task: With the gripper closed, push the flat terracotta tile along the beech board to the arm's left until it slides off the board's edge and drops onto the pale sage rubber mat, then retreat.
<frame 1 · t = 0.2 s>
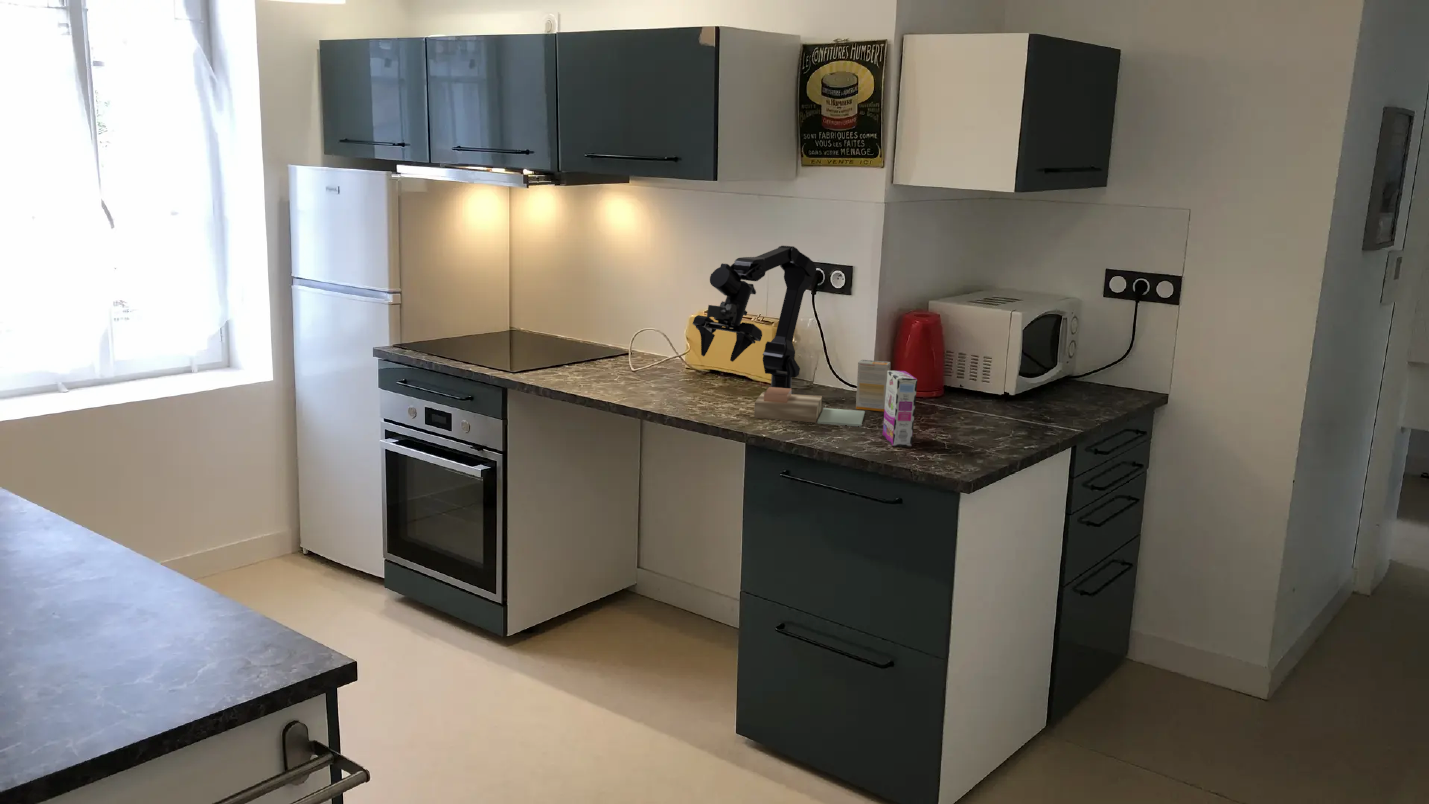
hand: (716, 358, 288), 14 cm above the counter, tool tilted 30°, fingers open, 9 cm apart
tile: (777, 398, 292), point 4 cm above the counter, touching board
candy bar box: (897, 441, 268), on the counter
supplement box: (871, 409, 302), on the counter
mat: (841, 418, 290), on the counter
board: (788, 414, 292), on the counter
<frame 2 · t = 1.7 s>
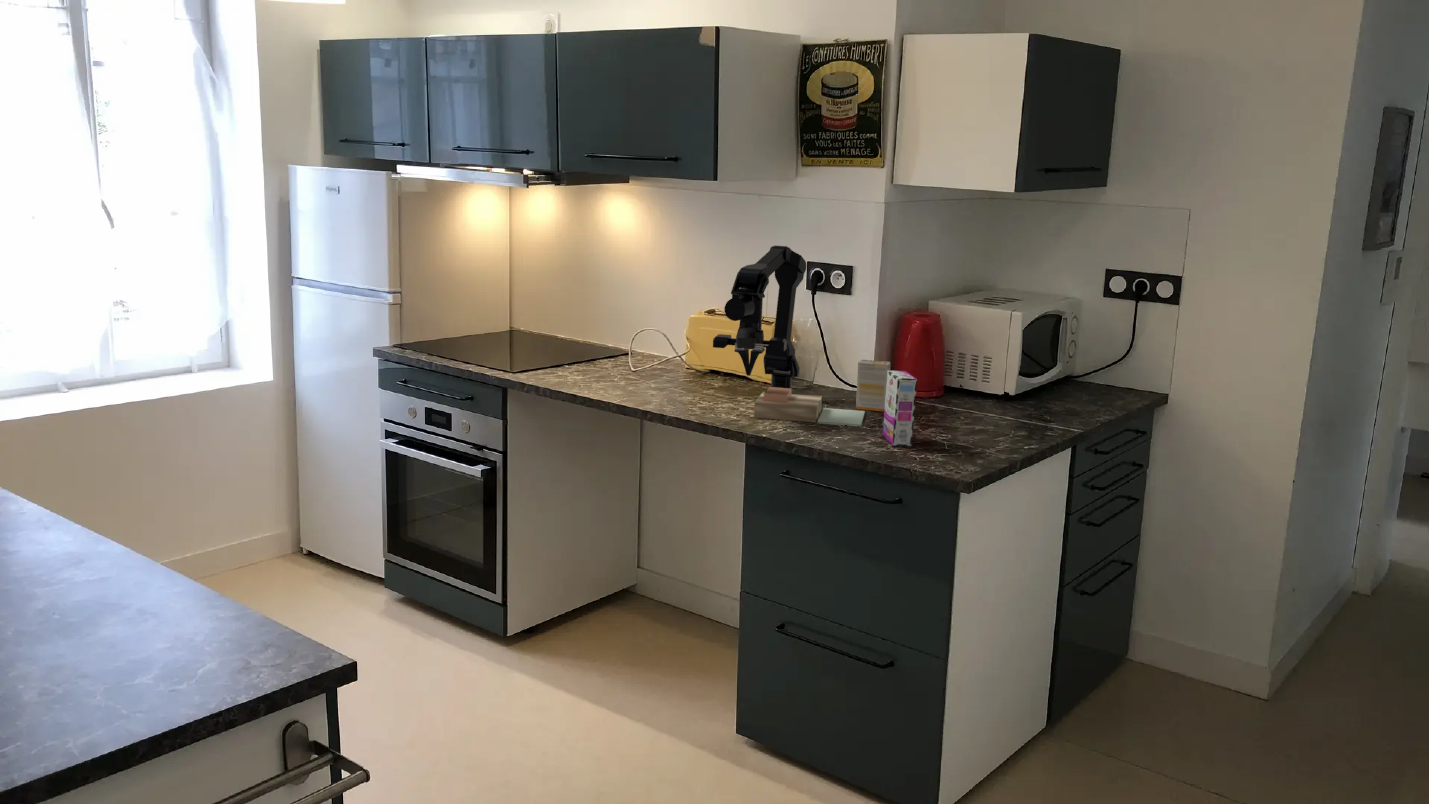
hand: (748, 375, 292), 10 cm above the counter, tool pointing down, fingers closed
nothing on the counter moved.
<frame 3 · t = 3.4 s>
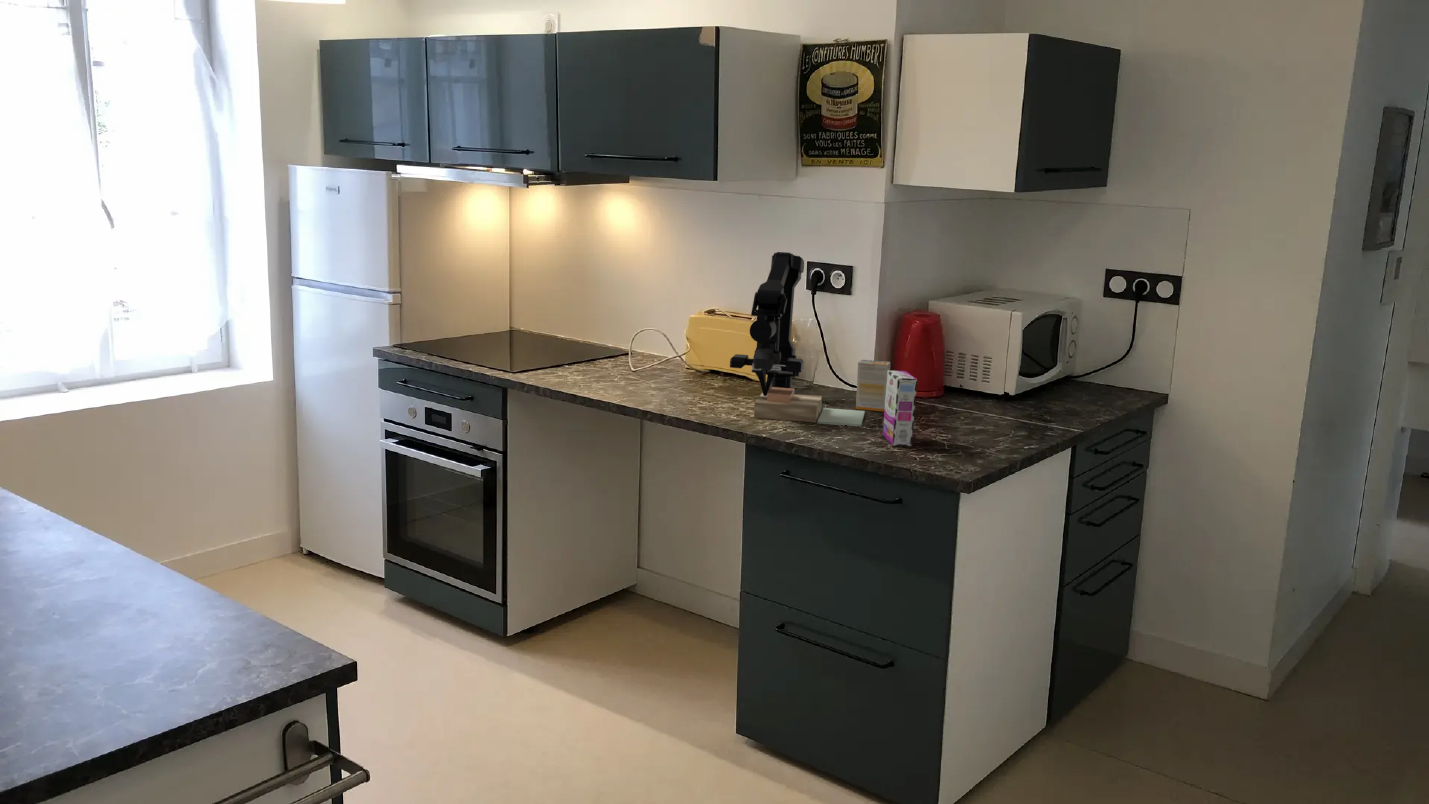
hand: (765, 395, 292), 5 cm above the counter, tool pointing down, fingers closed
tile: (780, 398, 292), point 4 cm above the counter, touching gripper
everything else where it was.
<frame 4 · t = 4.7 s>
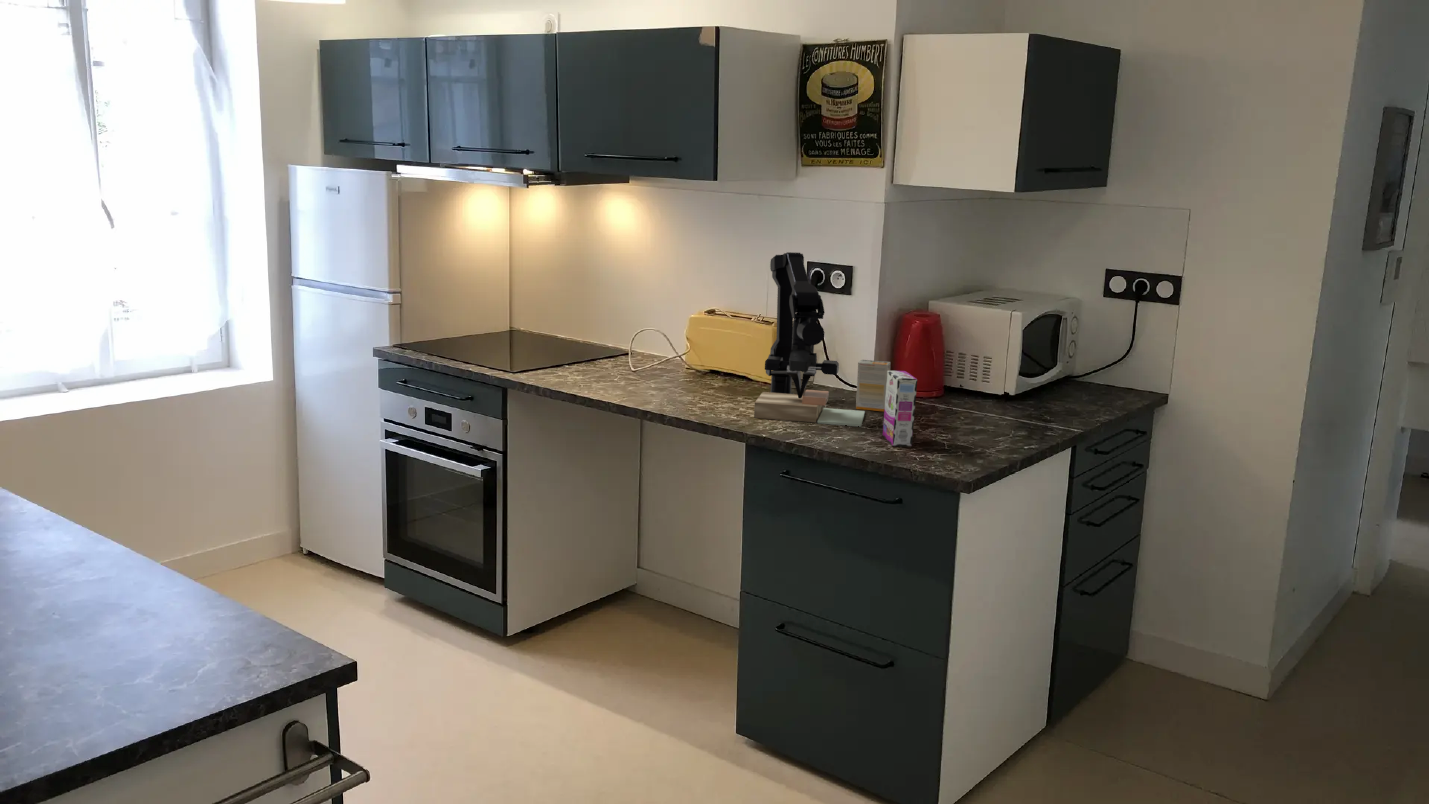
hand: (800, 397, 291), 5 cm above the counter, tool pointing down, fingers closed
tile: (815, 401, 290), point 4 cm above the counter, touching board, gripper
everything else where it was.
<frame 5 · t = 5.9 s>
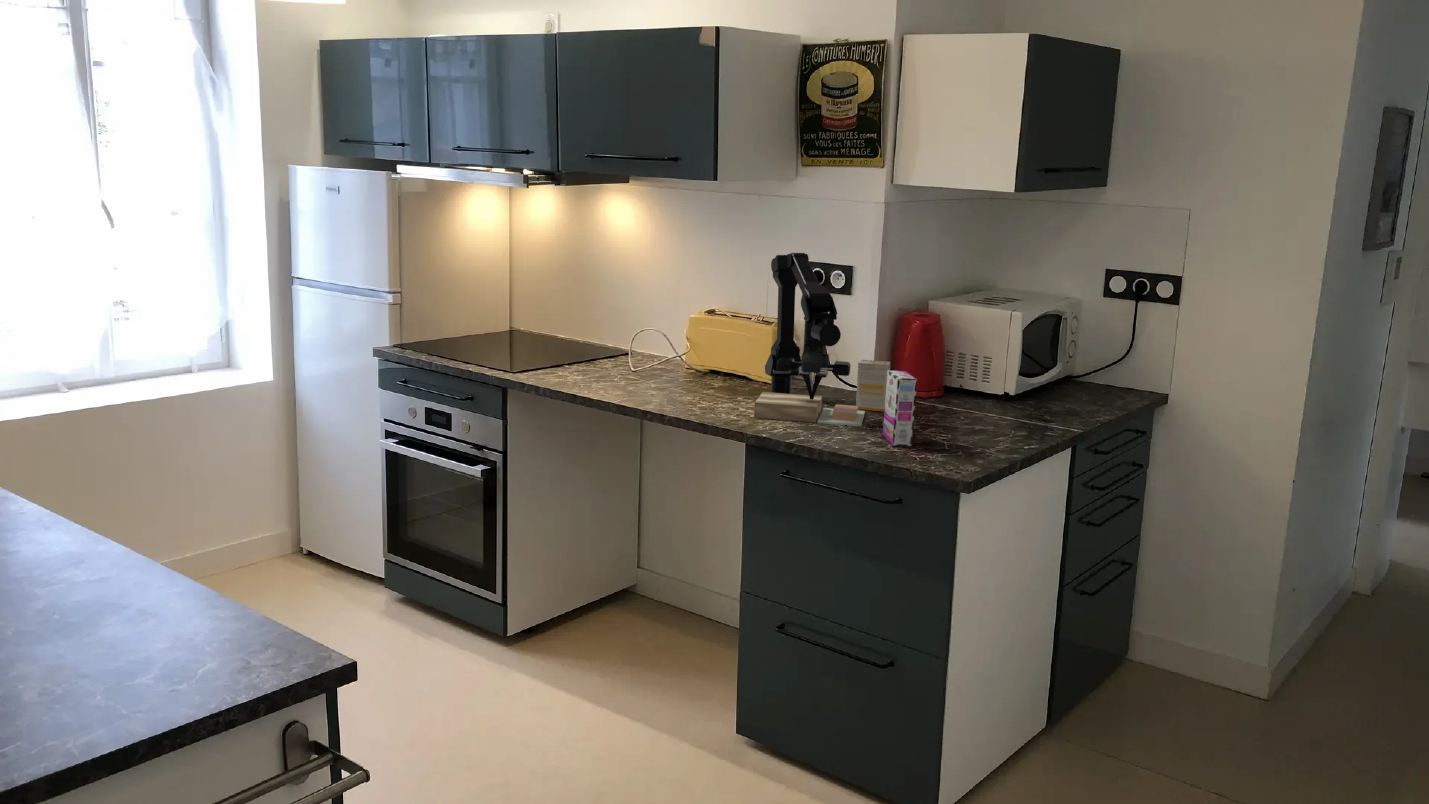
hand: (811, 399, 290), 4 cm above the counter, tool pointing down, fingers closed
tile: (845, 408, 289), point 3 cm above the counter, tilted 180°, touching mat
everything else where it was.
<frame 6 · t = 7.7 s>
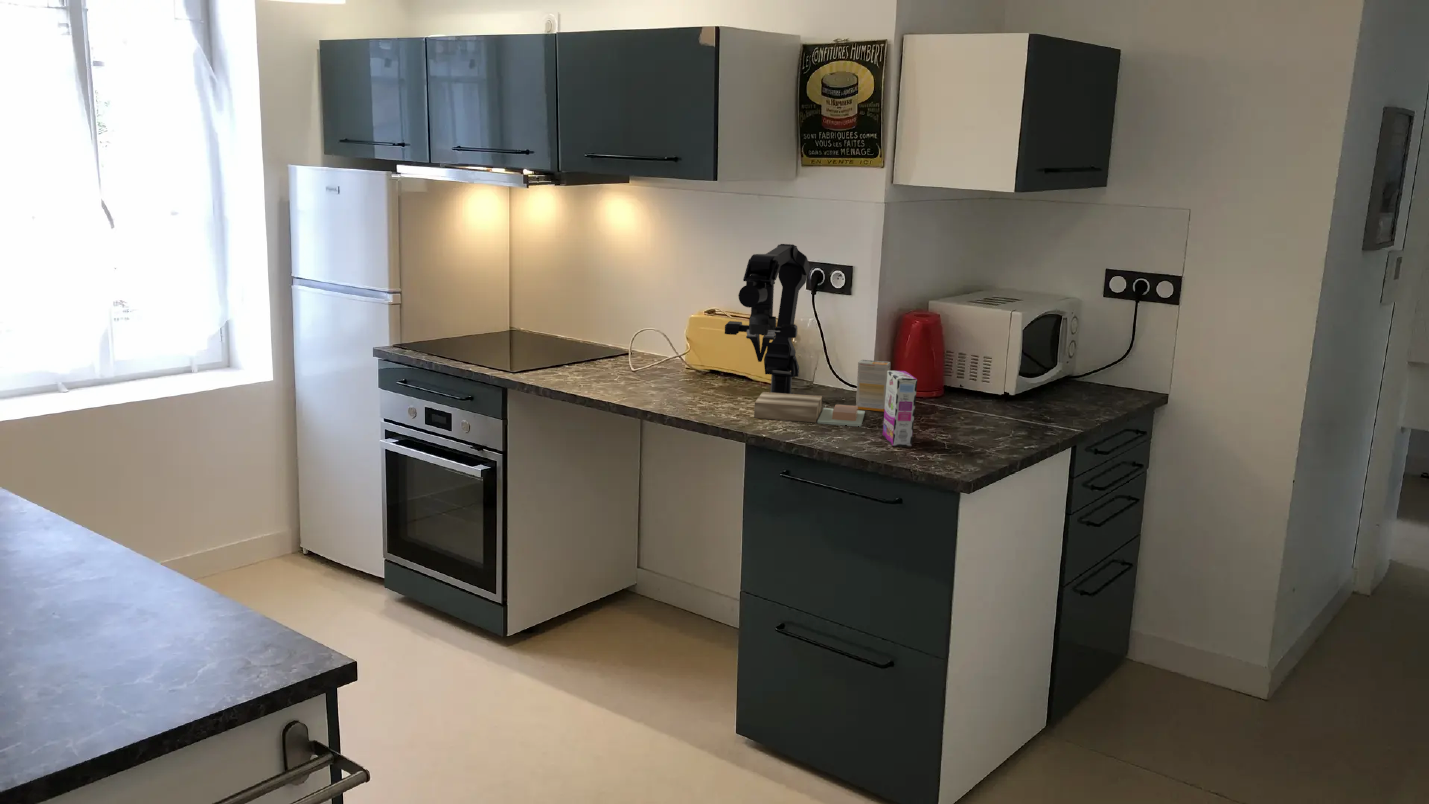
hand: (759, 361, 295), 13 cm above the counter, tool pointing down, fingers closed
nothing on the counter moved.
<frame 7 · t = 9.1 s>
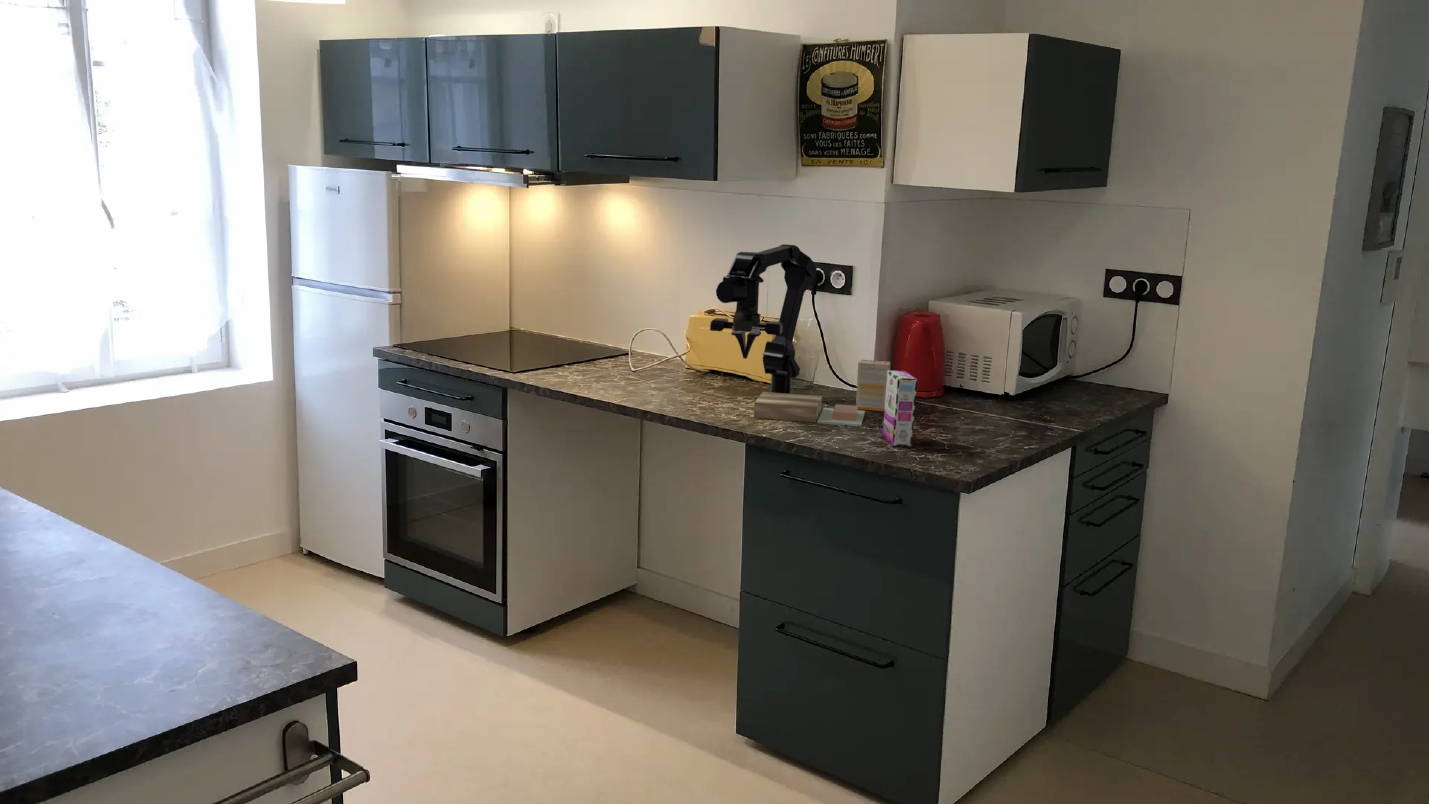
hand: (745, 358, 298), 13 cm above the counter, tool pointing down, fingers closed
nothing on the counter moved.
at the end: tile point 2.6 cm above the counter; tile inside the target area on the mat (0.9 cm from its centre), point 2.6 cm above the mat's base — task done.
